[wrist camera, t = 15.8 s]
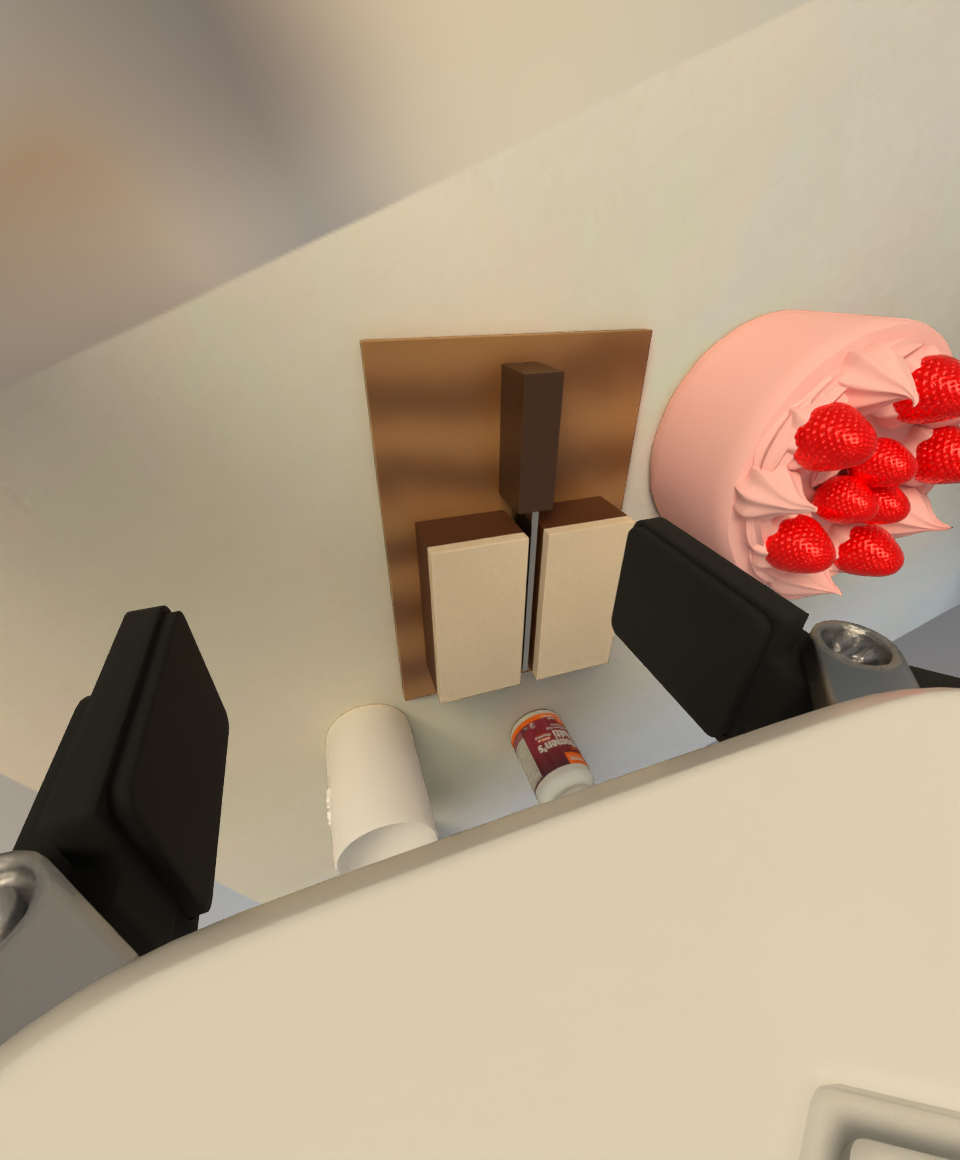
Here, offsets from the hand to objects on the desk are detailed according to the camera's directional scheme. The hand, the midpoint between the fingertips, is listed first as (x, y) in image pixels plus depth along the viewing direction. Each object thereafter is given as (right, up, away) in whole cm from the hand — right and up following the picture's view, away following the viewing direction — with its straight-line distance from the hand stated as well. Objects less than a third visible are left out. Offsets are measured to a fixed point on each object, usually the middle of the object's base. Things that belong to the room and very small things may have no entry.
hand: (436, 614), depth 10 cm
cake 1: (-1, 0, +30) cm, 30 cm away
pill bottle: (+7, -16, +44) cm, 48 cm away
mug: (-9, -15, +38) cm, 42 cm away
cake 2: (+8, +1, +32) cm, 33 cm away
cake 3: (+24, +13, +32) cm, 42 cm away
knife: (+4, +5, +28) cm, 29 cm away
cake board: (+3, +4, +29) cm, 30 cm away
